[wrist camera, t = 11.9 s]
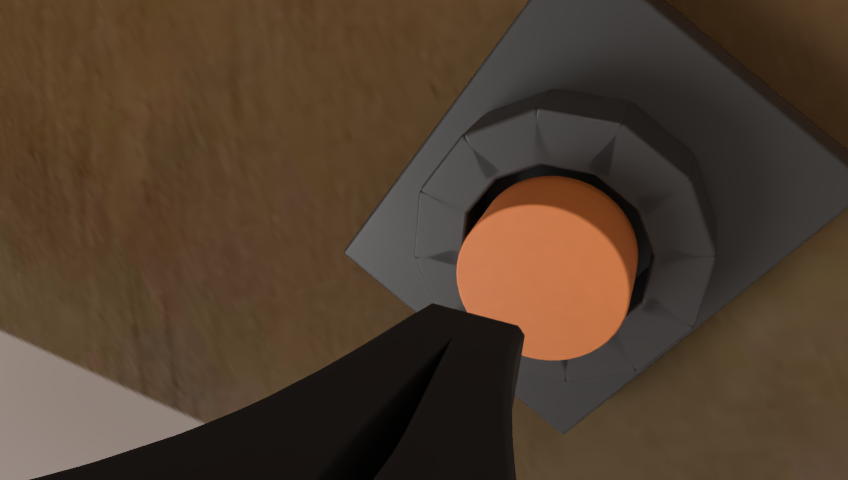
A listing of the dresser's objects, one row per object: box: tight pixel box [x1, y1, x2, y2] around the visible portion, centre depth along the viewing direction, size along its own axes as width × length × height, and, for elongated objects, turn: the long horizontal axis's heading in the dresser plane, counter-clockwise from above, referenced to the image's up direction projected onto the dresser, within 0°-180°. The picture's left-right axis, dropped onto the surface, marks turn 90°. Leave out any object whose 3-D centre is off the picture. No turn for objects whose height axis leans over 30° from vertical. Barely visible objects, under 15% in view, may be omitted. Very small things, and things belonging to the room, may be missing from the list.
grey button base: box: [344, 0, 848, 434], centre depth 17 cm, size 10×8×4 cm
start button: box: [456, 176, 639, 360], centre depth 16 cm, size 4×4×2 cm
